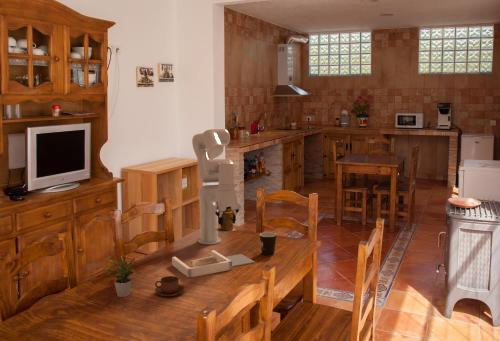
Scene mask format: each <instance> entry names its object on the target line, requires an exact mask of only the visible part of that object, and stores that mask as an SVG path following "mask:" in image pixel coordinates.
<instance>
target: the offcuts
mask: <svg viewBox="0 0 500 341" xmlns="http://www.w3.org/2000/svg"><path fill="white" fill-rule="evenodd" d="M213 263H219V260H217V258H216V257H214V256H211V255H210V256H206V257H201V258H197V259H191V260H190V265H191V267H197V266H202V265H208V264H213Z"/></svg>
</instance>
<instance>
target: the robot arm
mask: <svg viewBox="0 0 500 341" xmlns="http://www.w3.org/2000/svg"><path fill="white" fill-rule="evenodd" d="M191 142H192V149H193V150H194V151H193V152H194V153H195V156H196V160H197V169H198V177H199V180H200V182H201V183H202V184H205V185H202V186H200V187H199V188H198V191H197V194H198V195H197V196H198V200H199V213H200V214H199V215H200V217H199V220H200V233H199V234H200V238H198V240H197V243H198V244H200V245H208V246H210V245H217V244H219V243H221V241H222V239H221V238H220V237H219V231H216V230H214V229H218V228H219V225H220V226H221V225H223V218H222V213H223V211H225V210H226V207H231V209H232V211H233V225H234V224H236V222H237V218H236V216H237V214H238V213H239V212H240V210H241V209H242V206H241V204H239V202H238V195H237V190H236V187H238V185H237V184H236V183H235V163H234V162H233V161H232V160H231V159H229V158H220V159H218V157H220V156H221V155H222V154H223V152H224V148H225V147H226V146H228V145H229V144H230V142H231V135H230V132H229V131H228V130H227V129H226V128H215V129H213V128H212V129H206V130H205V131H203V132H202V133H197V134H194V135H193V136H192V139H191ZM210 183H212V184H210ZM213 183H218V184H213ZM214 203H215V205H214Z"/></svg>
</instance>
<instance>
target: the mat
mask: <svg viewBox="0 0 500 341" xmlns="http://www.w3.org/2000/svg"><path fill="white" fill-rule="evenodd" d="M225 257H226V258H228V259H229V260H231V261H232V268H236V267H240V266H246V265H250V264H251V265H252V264H255V263H256V261H255V260H252V259H251V258H249V257H248V256H246V255H244V254H242V253H240V254H233V255H229V256H225Z"/></svg>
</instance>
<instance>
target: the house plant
mask: <svg viewBox="0 0 500 341" xmlns="http://www.w3.org/2000/svg"><path fill="white" fill-rule="evenodd" d="M138 257H140V256H139V255H138V256H135V257H134V258H132V257H131V258H129V259H128V260H127V258H125V259H124V257H123V255H122V254H121V255H120V263H119V261H117V260H116V259H114V260H112V259H109V261H110V262H111V263H113V265H115V266H113V268H115V267H116V268H115V269H116V270H117V271H118V272H117V271H116V270H114V269H112V268H109V267H104V269H105V270H107V271H108V273H107V274H106V276H108V275H114V276H115V277H116V279H114V285H115V291H116V294H117V297H119V298H125V297H128V296H130V294H131V289H132V281H133V280H132V278H131V277H130V276H131V275H135V273H136V272H135V271H136V269H134V268H132V267H133V263H134V261H135V260H136V259H137V258H138ZM128 262H129V263H128ZM127 264H128V266H127ZM108 265H110V266H111V264H110V263H108ZM134 270H135V271H134Z"/></svg>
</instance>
